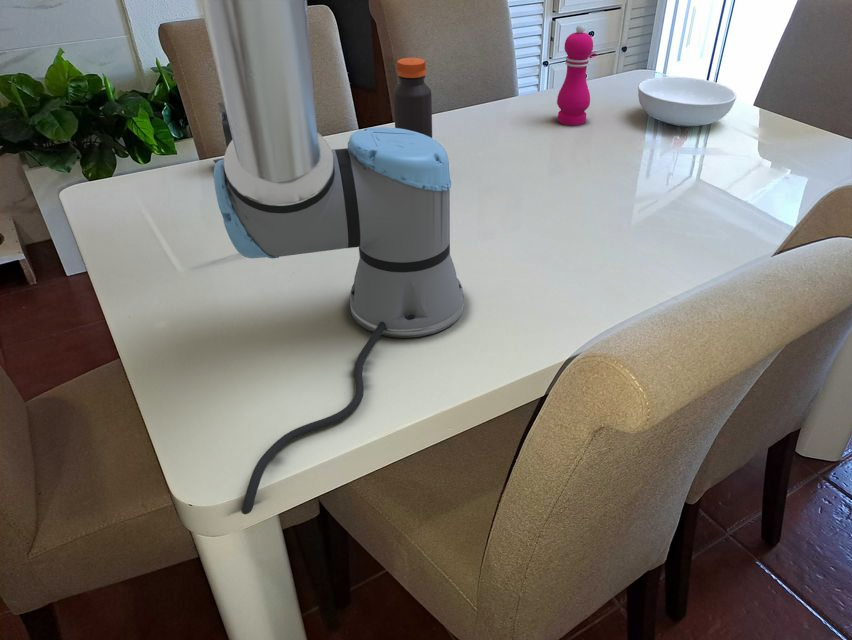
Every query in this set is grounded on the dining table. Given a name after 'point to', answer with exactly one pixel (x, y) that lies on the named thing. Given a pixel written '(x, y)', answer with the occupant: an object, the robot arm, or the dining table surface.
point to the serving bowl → (685, 100)
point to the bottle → (413, 97)
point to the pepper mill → (575, 79)
